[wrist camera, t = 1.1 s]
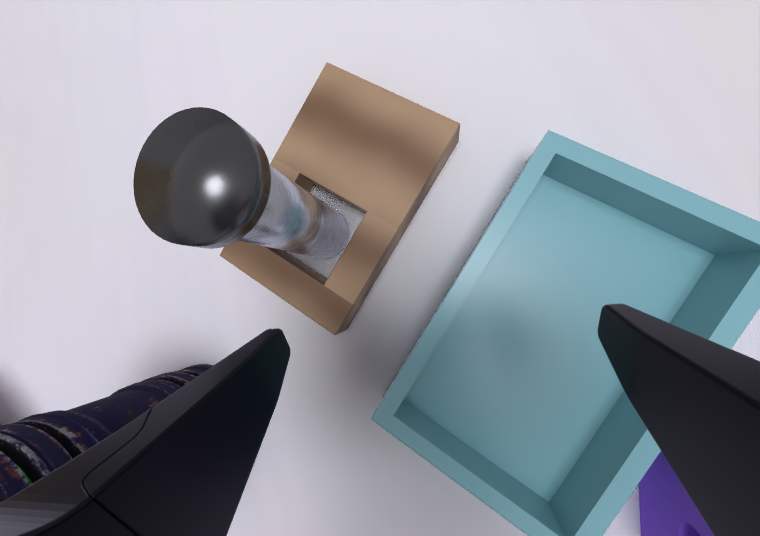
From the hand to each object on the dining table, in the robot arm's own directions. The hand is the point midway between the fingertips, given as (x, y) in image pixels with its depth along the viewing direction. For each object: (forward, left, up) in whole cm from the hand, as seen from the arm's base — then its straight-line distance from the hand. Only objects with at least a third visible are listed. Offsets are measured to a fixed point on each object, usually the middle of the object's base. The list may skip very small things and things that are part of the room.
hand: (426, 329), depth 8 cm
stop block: (+3, +10, -13) cm, 17 cm away
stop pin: (0, +10, -13) cm, 17 cm away
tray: (+2, -7, -13) cm, 15 cm away
